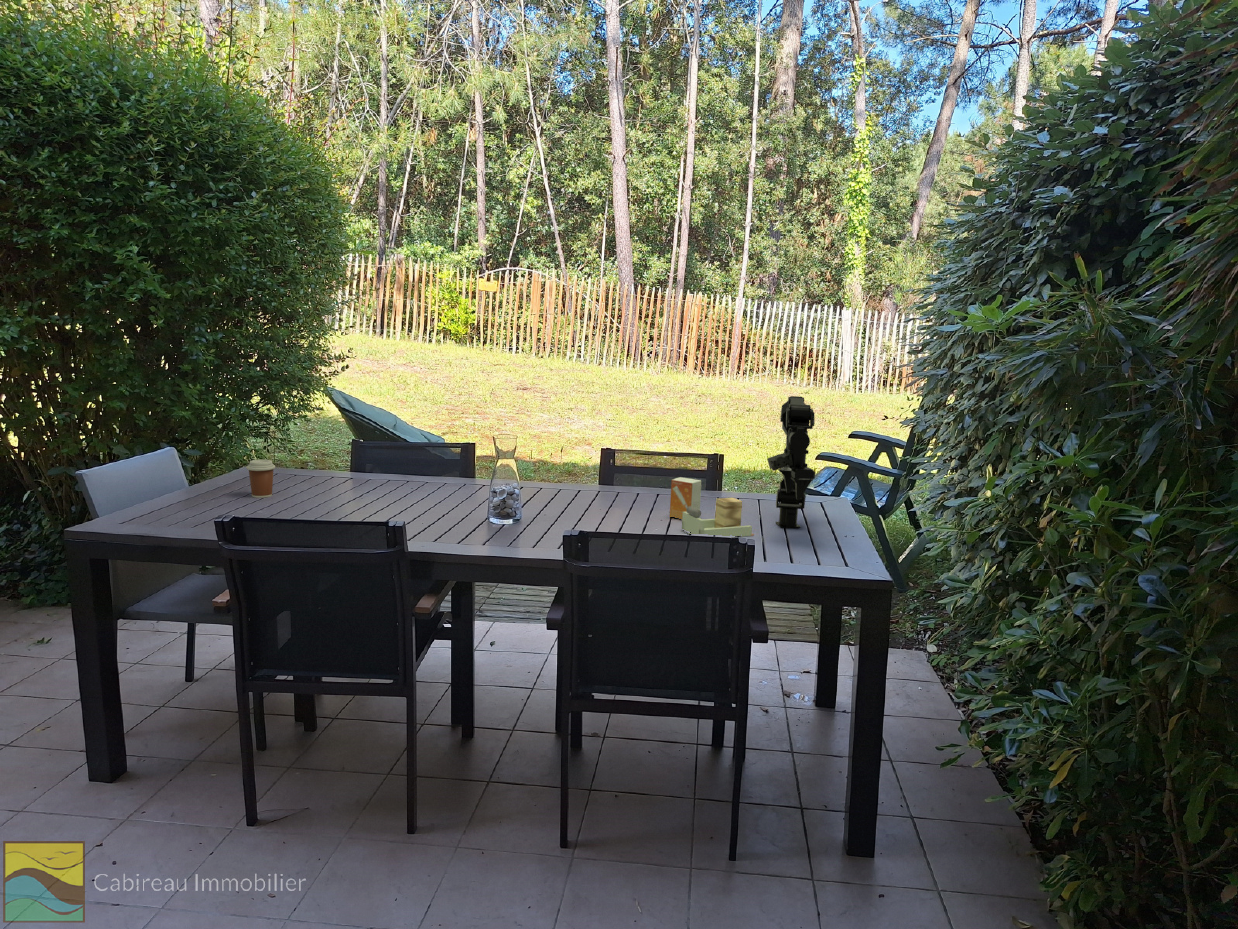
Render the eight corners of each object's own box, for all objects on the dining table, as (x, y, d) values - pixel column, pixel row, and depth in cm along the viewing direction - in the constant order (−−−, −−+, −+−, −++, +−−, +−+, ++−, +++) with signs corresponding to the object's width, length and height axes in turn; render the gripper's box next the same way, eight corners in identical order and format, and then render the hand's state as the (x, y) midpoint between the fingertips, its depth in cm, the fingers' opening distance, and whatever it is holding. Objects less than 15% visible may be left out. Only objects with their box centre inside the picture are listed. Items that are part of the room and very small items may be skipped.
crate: (731, 526, 279) (732, 497, 277) (740, 531, 274) (742, 501, 272) (714, 528, 276) (716, 498, 275) (723, 532, 271) (725, 502, 270)
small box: (669, 518, 291) (670, 479, 288) (678, 514, 296) (680, 476, 294) (690, 522, 286) (692, 482, 284) (699, 518, 292) (702, 480, 289)
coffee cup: (269, 499, 297) (268, 464, 295) (242, 498, 297) (241, 463, 295) (280, 493, 306) (279, 459, 304) (254, 492, 306) (253, 458, 304)
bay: (733, 526, 283) (735, 500, 281) (753, 535, 272) (755, 508, 271) (680, 530, 275) (681, 504, 273) (698, 540, 264) (699, 512, 263)
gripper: (762, 440, 274) (758, 489, 277) (780, 450, 256) (777, 503, 258) (796, 441, 275) (793, 490, 278) (817, 451, 257) (813, 503, 260)
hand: (793, 496), depth 269 cm, fingers open, 9 cm apart
